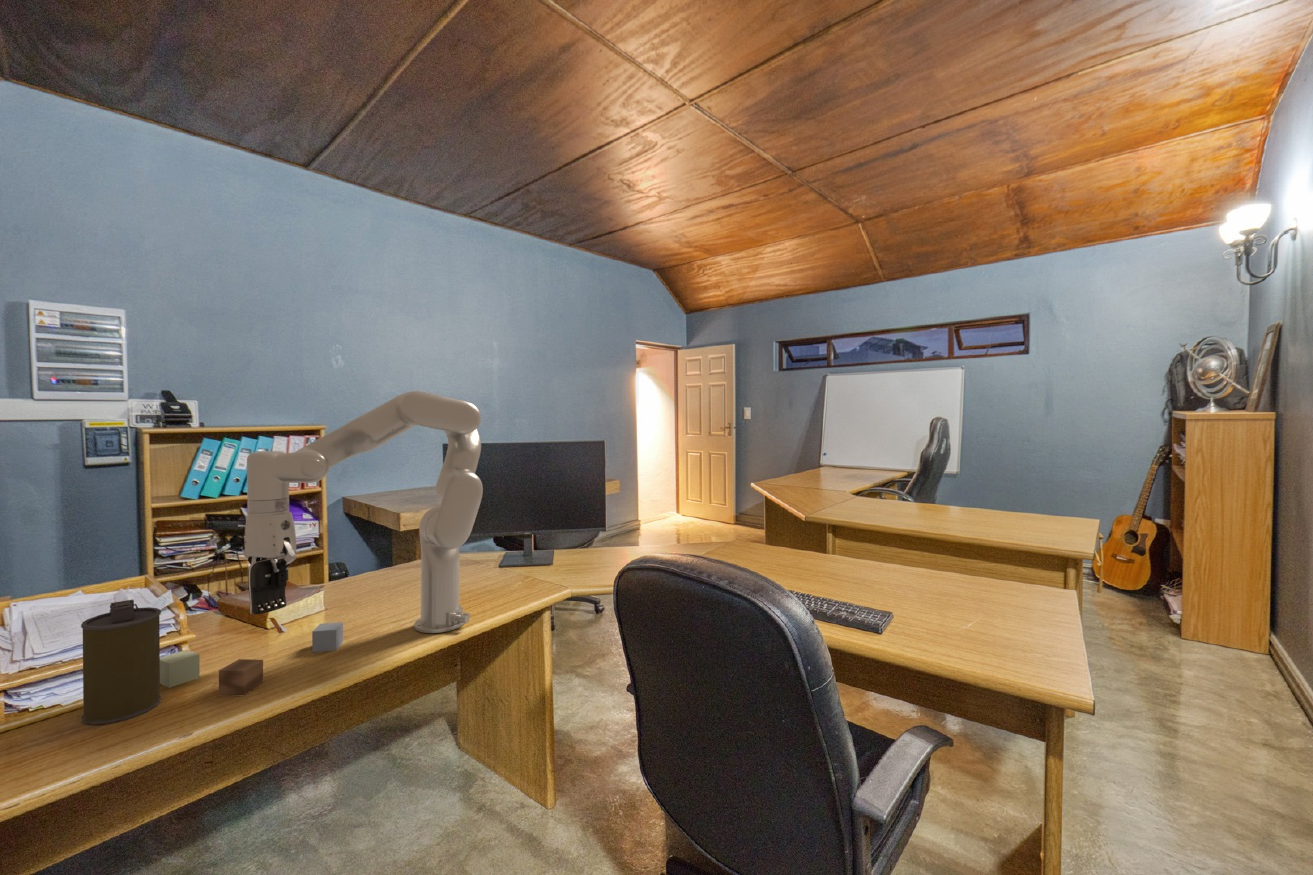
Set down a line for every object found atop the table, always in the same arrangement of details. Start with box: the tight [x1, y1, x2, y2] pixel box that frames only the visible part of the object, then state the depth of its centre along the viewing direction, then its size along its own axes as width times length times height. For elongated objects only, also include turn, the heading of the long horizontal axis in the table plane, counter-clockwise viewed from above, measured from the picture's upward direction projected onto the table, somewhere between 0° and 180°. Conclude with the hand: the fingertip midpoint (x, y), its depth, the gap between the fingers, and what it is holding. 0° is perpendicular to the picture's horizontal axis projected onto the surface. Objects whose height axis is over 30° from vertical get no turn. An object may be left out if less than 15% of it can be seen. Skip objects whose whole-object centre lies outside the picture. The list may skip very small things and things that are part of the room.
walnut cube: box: [218, 658, 264, 696], centre depth 106 cm, size 5×5×5 cm
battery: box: [247, 559, 289, 615], centre depth 119 cm, size 7×4×11 cm, turn 153°
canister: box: [80, 598, 162, 726], centre depth 98 cm, size 11×10×20 cm
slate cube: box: [311, 621, 344, 653], centre depth 127 cm, size 5×5×5 cm
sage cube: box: [160, 649, 201, 689], centre depth 110 cm, size 5×5×5 cm
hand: (269, 586), depth 119 cm, fingers closed on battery, 4 cm apart
